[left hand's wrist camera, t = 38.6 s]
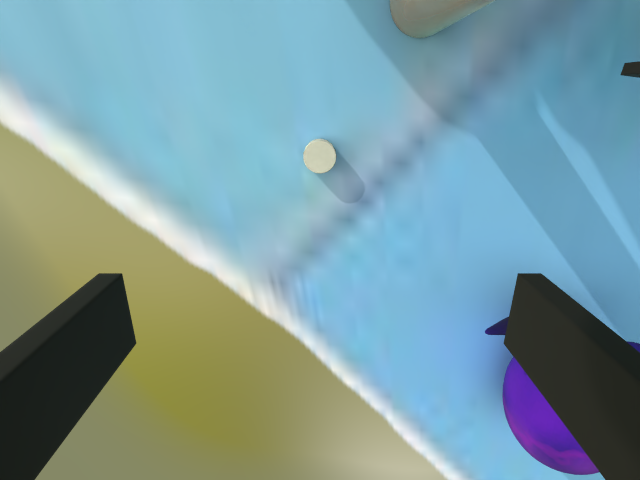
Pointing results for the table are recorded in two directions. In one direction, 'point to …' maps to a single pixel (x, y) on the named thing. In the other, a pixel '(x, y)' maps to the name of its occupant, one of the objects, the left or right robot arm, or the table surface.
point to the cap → (319, 156)
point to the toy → (540, 420)
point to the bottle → (431, 14)
